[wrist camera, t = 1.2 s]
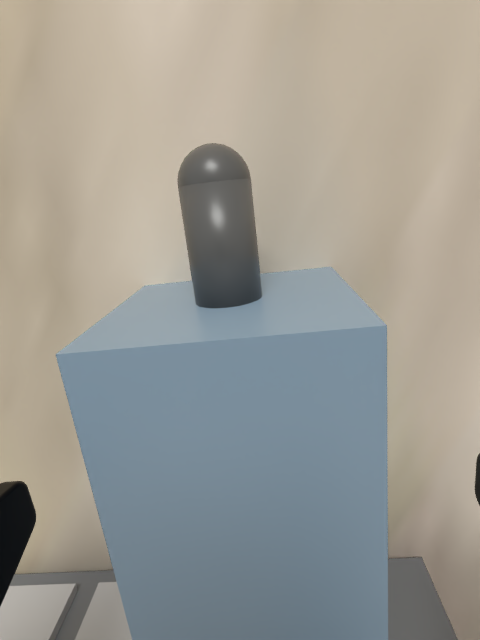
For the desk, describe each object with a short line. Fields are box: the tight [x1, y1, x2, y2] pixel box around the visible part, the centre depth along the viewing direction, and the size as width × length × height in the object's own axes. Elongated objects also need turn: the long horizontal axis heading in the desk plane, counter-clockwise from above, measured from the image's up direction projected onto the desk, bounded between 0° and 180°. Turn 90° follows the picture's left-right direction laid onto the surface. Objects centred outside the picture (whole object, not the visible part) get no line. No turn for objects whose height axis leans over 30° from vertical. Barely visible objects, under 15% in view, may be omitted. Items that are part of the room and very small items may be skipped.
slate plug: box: [56, 143, 388, 640], centre depth 9 cm, size 12×5×5 cm, turn 7°
